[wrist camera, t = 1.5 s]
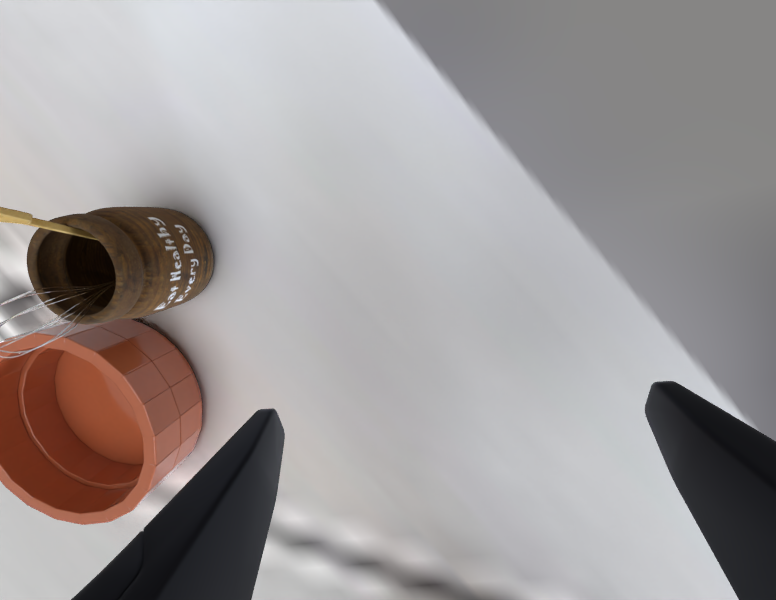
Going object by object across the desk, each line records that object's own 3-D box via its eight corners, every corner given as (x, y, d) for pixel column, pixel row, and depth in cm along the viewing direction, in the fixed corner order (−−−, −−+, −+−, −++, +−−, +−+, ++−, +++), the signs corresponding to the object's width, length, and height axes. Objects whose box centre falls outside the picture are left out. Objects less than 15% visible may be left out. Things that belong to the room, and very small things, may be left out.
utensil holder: (137, 301, 26) (-107, 372, 15) (123, 202, 25) (-158, 194, 13) (222, 304, 25) (34, 382, 14) (212, 201, 24) (-5, 192, 13)
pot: (180, 499, 29) (127, 556, 24) (36, 428, 30) (-44, 470, 25) (228, 358, 26) (179, 391, 21) (67, 282, 27) (-17, 298, 22)
